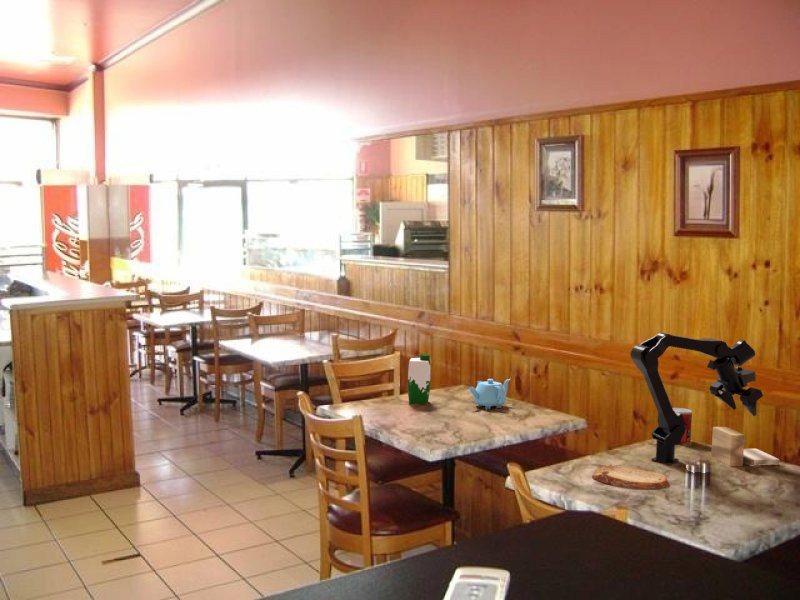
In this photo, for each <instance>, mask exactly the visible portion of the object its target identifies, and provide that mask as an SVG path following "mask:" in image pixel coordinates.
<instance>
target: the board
mask: <svg viewBox="0 0 800 600" xmlns="http://www.w3.org/2000/svg"><path fill="white" fill-rule="evenodd" d="M743 462H744V463H746V464H748V465H759V464H779V465H780V459H779V458H777V457H776V456H774V455H771V454H769V453H766V452H764V451H762V450H760V449H758V448H744V453H743ZM744 463H743V464H744ZM746 464H745V465H746ZM748 465H747V466H748Z"/></svg>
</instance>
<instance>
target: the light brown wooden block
mask: <svg viewBox="0 0 800 600" xmlns="http://www.w3.org/2000/svg"><path fill="white" fill-rule="evenodd" d="M711 438H712V439H711V456H712V457H711V456H710V457H711V458H713V459H715V460H716V461H719V462H720V461H721V462H720V463H722V462H723V464H724V463H725V465H726V464H727V465H726V466H728V465H729V467H738V466H737V465H743V464H744V463H743V453H744V449H745V434H743V433H741V432H738V431H737V430H735V429H732V428H730V427H728V426H713V427H712V437H711ZM743 466H744V465H743Z"/></svg>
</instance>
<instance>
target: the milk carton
mask: <svg viewBox="0 0 800 600" xmlns="http://www.w3.org/2000/svg"><path fill="white" fill-rule="evenodd" d="M407 370H408V371H407V373H408V374H407V393H408V394H407V395H408V397H407V398H408V404H409V405H427V404H428V402H429V399H430V394H431V393H430V391H431V355H430V354H428V353H422V354H420V355H419V357H415V358H414V357H411V358H410V359H409V361H408V369H407Z"/></svg>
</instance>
